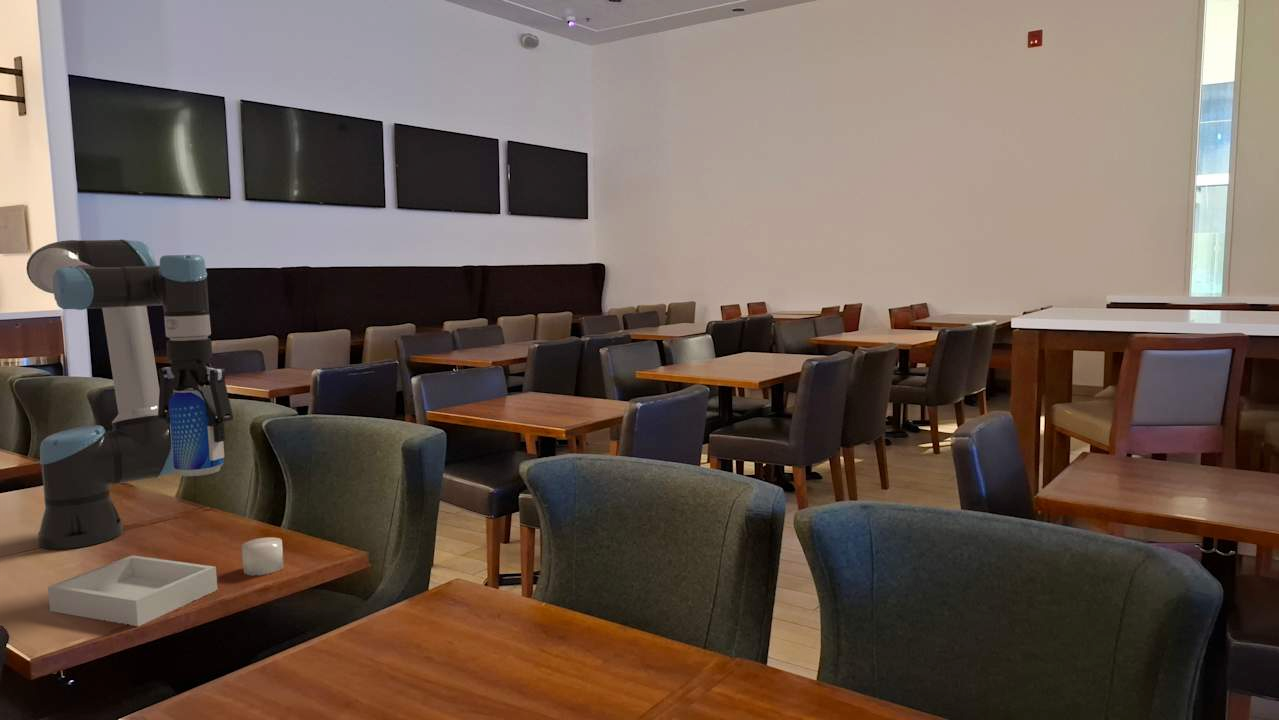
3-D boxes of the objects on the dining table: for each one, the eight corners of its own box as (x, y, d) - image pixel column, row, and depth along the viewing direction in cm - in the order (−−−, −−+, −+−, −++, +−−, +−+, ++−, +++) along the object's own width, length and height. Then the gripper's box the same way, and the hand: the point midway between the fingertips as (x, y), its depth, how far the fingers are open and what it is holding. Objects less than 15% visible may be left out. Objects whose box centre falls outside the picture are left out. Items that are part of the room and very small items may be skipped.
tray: (50, 611, 146) (47, 586, 145) (134, 577, 161) (132, 555, 160) (138, 626, 139) (135, 600, 138) (217, 590, 154) (215, 566, 153)
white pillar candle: (235, 573, 162) (233, 547, 162) (263, 560, 169) (261, 535, 168) (264, 577, 160) (262, 551, 159) (291, 564, 166) (290, 539, 166)
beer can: (164, 476, 161) (157, 391, 159) (194, 465, 169) (188, 384, 167) (205, 477, 159) (198, 392, 157) (233, 466, 168) (227, 385, 166)
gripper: (128, 339, 161) (139, 458, 164) (217, 340, 154) (227, 465, 157) (162, 335, 168) (172, 449, 171) (249, 337, 161) (257, 456, 164)
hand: (198, 457), depth 164 cm, fingers closed on beer can, 8 cm apart
